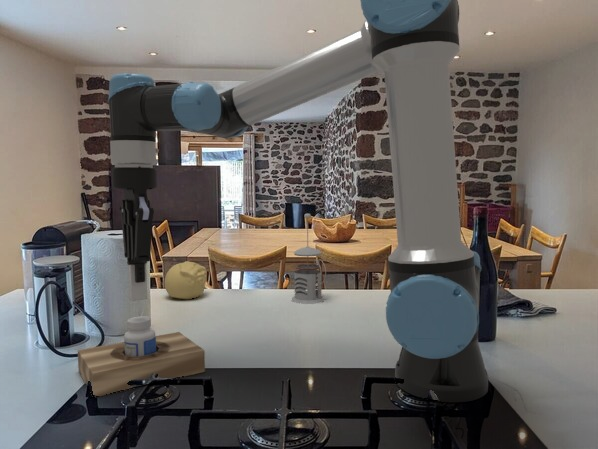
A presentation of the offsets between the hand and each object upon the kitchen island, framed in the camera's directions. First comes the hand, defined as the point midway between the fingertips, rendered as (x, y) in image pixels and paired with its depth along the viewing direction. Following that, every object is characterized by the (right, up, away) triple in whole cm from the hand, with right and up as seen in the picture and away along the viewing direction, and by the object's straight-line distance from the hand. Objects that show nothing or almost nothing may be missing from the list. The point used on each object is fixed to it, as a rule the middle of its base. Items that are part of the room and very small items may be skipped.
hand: (138, 299), depth 88 cm
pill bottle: (0, -14, +1) cm, 14 cm away
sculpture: (-5, -8, +58) cm, 59 cm away
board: (0, -13, +1) cm, 13 cm away
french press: (+32, -9, +53) cm, 63 cm away
